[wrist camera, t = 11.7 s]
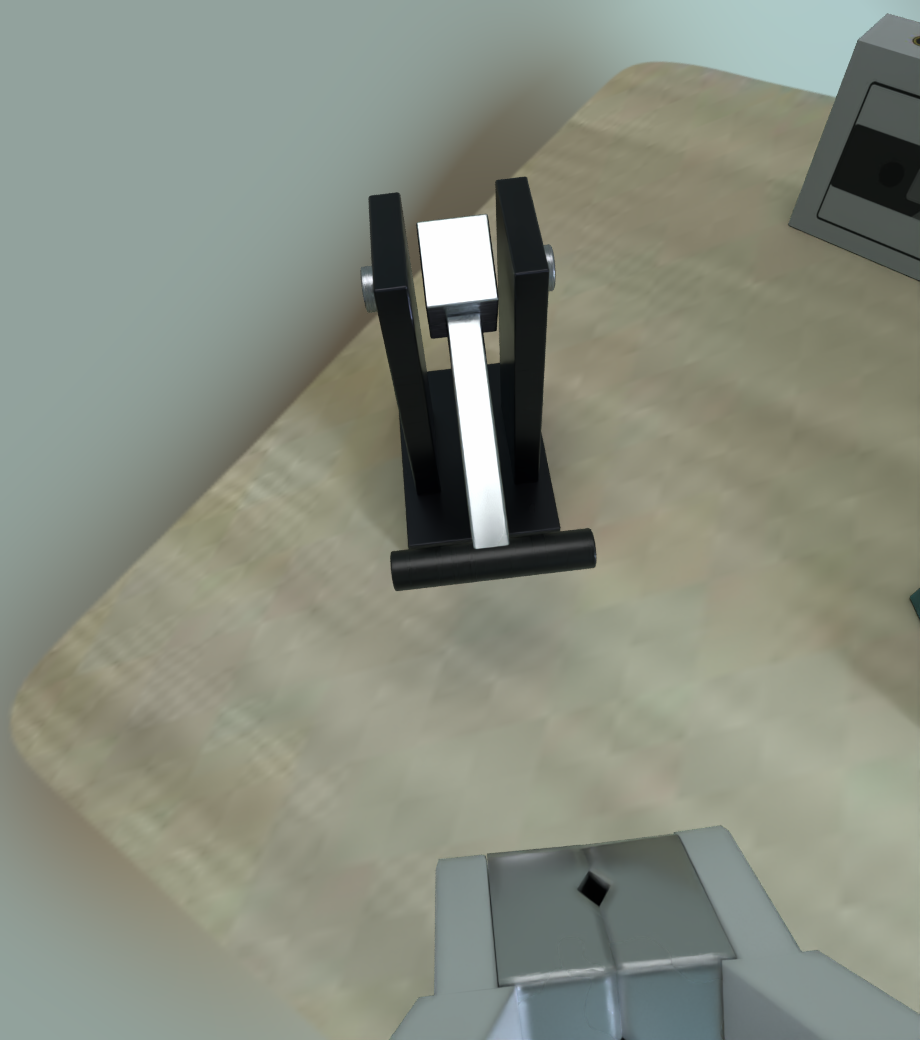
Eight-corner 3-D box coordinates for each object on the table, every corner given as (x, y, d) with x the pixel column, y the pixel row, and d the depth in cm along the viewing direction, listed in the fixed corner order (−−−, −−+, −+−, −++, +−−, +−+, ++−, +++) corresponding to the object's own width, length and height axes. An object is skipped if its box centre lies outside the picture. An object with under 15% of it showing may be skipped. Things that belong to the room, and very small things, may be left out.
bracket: (559, 543, 29) (583, 325, 19) (411, 560, 29) (356, 353, 19) (526, 377, 34) (531, 131, 23) (399, 392, 34) (350, 153, 24)
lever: (589, 570, 22) (602, 564, 20) (399, 593, 23) (390, 589, 20) (542, 246, 24) (549, 205, 22) (366, 267, 24) (353, 228, 22)
